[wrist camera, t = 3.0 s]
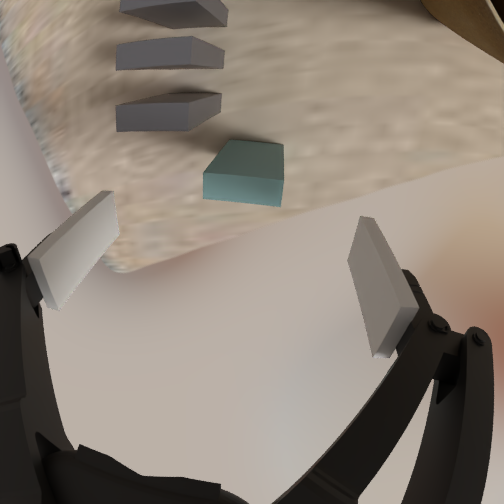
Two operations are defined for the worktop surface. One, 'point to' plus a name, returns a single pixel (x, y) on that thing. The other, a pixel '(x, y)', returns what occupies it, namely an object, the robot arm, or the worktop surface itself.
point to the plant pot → (473, 22)
